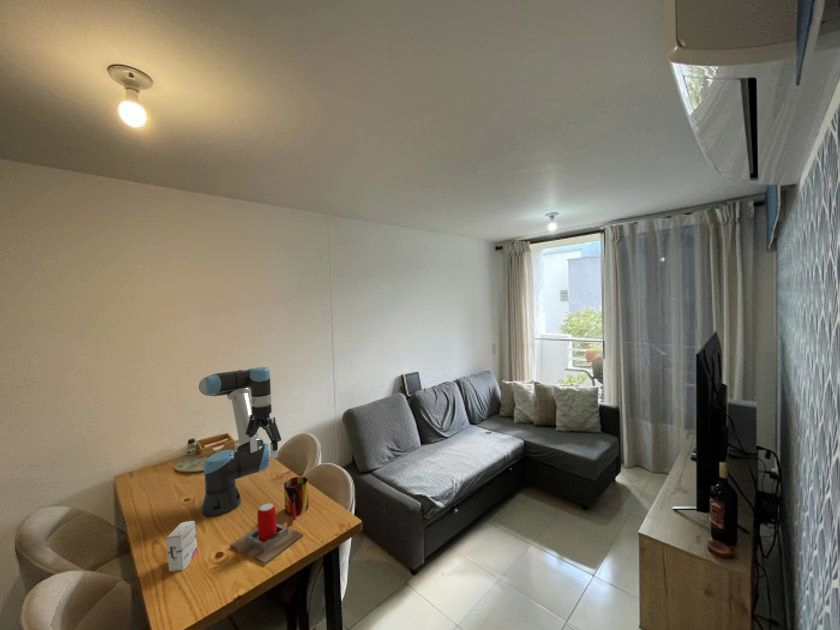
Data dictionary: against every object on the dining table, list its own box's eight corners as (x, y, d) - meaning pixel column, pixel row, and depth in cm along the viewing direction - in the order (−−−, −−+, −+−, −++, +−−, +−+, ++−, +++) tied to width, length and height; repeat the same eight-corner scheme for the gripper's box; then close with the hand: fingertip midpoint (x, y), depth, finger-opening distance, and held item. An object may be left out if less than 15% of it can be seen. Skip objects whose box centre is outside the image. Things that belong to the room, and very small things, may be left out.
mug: (293, 524, 135) (291, 494, 135) (282, 509, 146) (280, 482, 146) (316, 513, 142) (314, 485, 141) (304, 500, 152) (302, 474, 152)
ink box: (183, 553, 121) (181, 521, 121) (198, 552, 121) (196, 519, 121) (167, 572, 112) (165, 537, 112) (183, 570, 113) (181, 536, 113)
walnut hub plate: (230, 547, 123) (230, 544, 123) (269, 522, 137) (268, 519, 137) (265, 565, 114) (265, 562, 114) (303, 536, 127) (302, 533, 127)
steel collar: (245, 543, 123) (245, 535, 123) (270, 526, 132) (270, 519, 132) (263, 552, 118) (263, 544, 118) (288, 534, 127) (287, 527, 127)
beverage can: (267, 531, 130) (265, 501, 129) (280, 534, 128) (278, 503, 128) (255, 542, 124) (253, 510, 123) (268, 545, 122) (267, 512, 122)
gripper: (235, 403, 143) (237, 452, 144) (272, 411, 131) (275, 464, 132) (251, 398, 150) (253, 445, 151) (288, 405, 137) (291, 456, 138)
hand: (263, 454), depth 141 cm, fingers open, 13 cm apart
